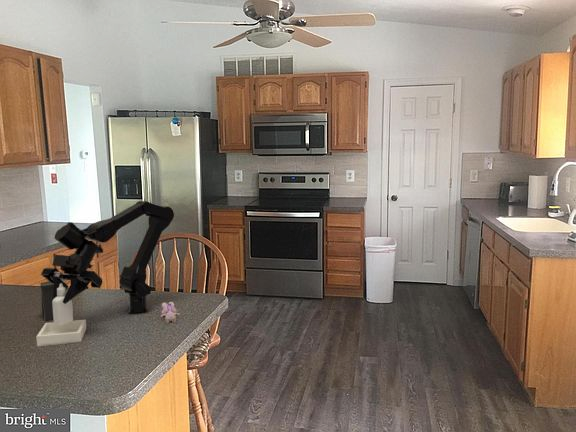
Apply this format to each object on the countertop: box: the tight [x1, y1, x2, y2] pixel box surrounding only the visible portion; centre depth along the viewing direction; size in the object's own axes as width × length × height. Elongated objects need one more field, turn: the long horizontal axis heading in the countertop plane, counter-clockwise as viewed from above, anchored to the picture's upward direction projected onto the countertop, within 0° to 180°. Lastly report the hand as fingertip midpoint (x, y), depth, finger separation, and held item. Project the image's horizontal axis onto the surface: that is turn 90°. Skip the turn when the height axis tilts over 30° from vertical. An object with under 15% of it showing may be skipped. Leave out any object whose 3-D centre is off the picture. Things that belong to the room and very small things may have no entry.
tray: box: [36, 319, 87, 347], centre depth 146 cm, size 12×12×3 cm
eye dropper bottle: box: [52, 283, 74, 325], centre depth 144 cm, size 4×6×12 cm
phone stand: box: [40, 281, 54, 322], centre depth 164 cm, size 9×6×12 cm, turn 34°
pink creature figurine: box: [160, 301, 181, 325], centre depth 163 cm, size 6×6×15 cm
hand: (58, 302), depth 143 cm, fingers closed on eye dropper bottle, 3 cm apart
